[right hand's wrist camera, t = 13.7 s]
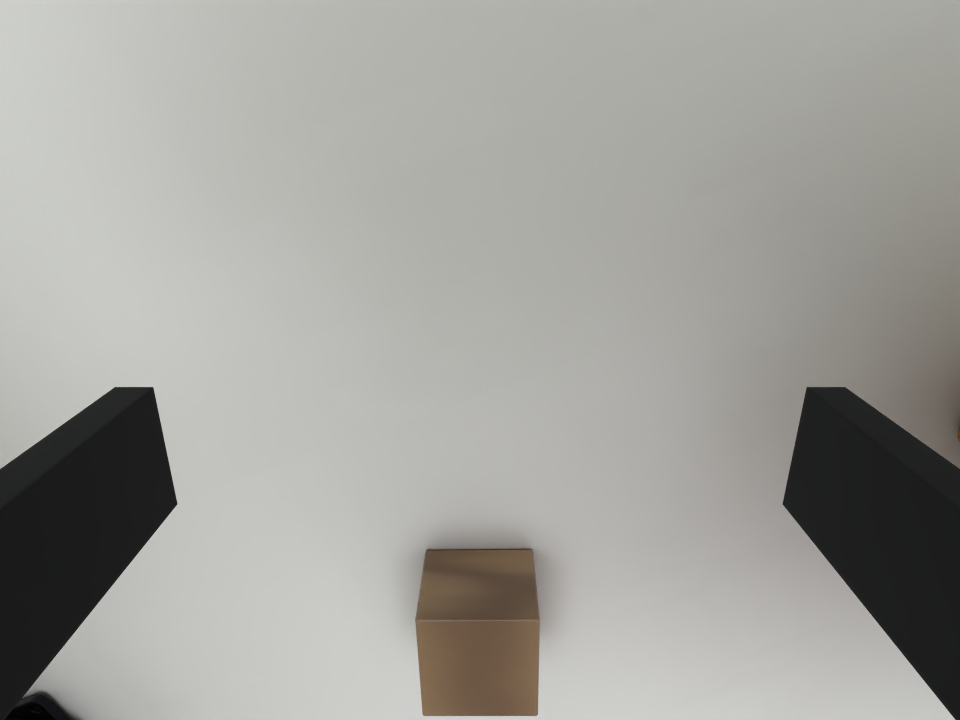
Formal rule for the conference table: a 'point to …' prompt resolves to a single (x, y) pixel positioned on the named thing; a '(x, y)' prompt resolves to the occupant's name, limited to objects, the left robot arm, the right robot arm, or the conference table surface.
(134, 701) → the conference table surface
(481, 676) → the brown cardboard box
